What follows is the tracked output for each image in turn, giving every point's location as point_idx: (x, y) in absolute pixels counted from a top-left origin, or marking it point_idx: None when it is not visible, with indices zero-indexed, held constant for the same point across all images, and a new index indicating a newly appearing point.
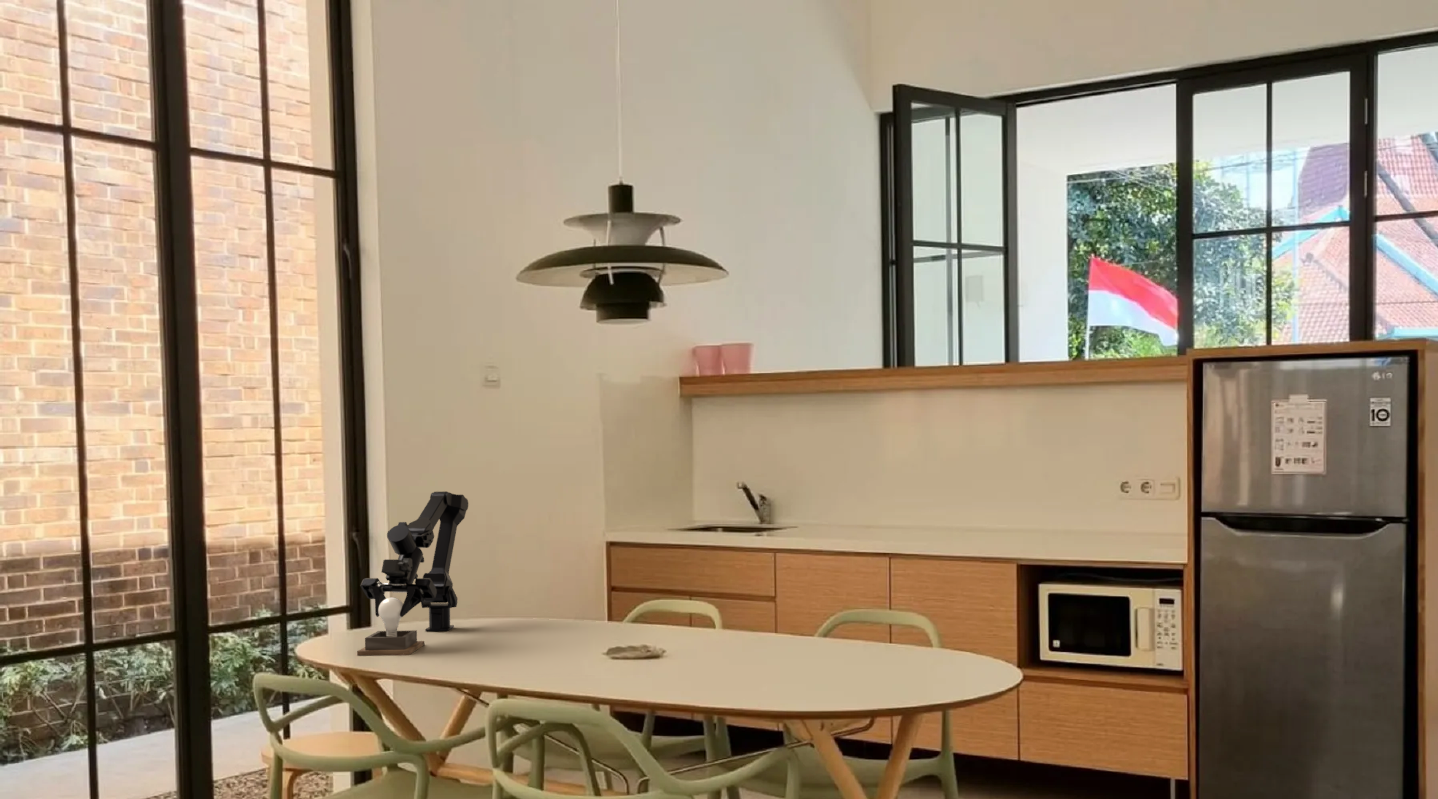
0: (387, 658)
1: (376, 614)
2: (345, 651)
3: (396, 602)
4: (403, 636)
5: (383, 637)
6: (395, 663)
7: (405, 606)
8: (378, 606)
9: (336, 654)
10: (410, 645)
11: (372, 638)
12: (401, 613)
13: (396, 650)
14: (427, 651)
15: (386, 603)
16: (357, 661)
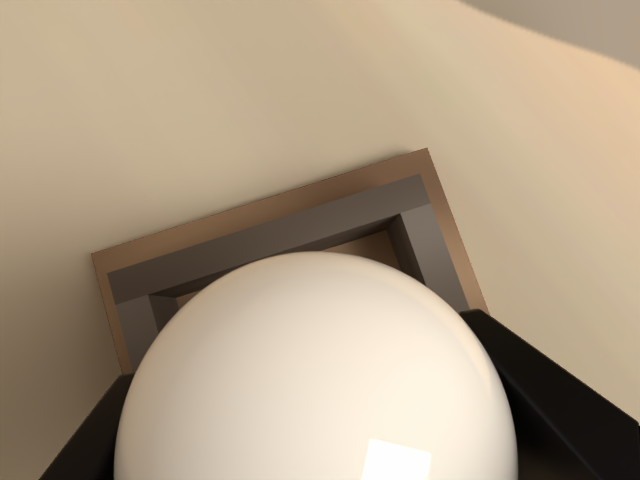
0: (175, 124)
1: (465, 312)
2: (592, 253)
3: (146, 412)
4: (142, 307)
5: (281, 224)
6: (41, 14)
7: (42, 477)
8: (514, 382)
9: (575, 154)
10: None
11: (362, 193)
12: (117, 381)
13: (180, 234)
14: (43, 390)
15: (287, 286)
16: (299, 10)
